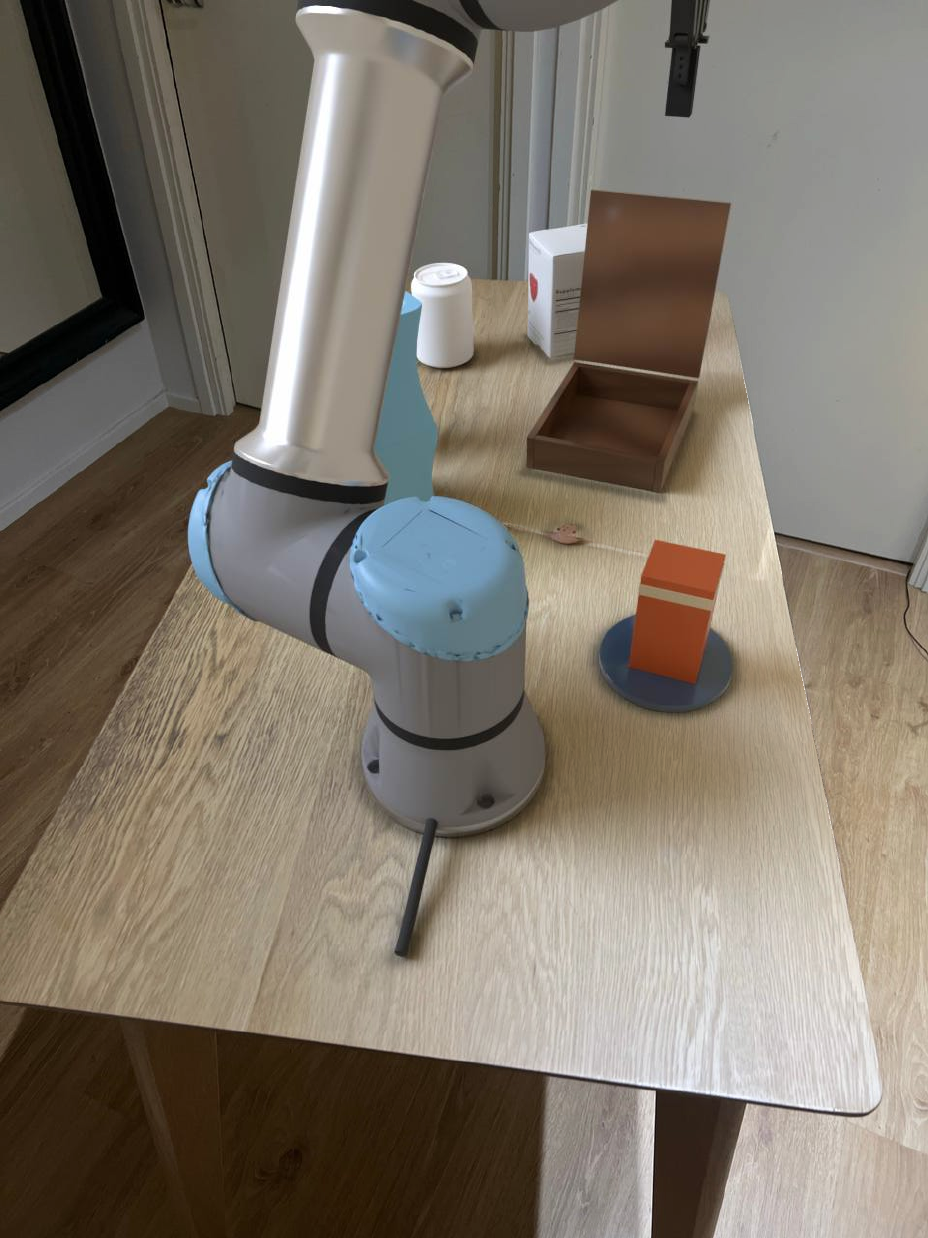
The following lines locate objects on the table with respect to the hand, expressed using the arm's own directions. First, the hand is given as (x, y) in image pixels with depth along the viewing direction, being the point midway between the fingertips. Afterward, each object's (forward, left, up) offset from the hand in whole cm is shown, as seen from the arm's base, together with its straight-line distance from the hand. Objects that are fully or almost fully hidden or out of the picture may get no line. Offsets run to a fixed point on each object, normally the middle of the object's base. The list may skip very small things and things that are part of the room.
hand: (678, 114), depth 98 cm
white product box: (+5, +13, -32) cm, 35 cm away
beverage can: (-4, +28, -32) cm, 43 cm away
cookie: (-37, 0, -32) cm, 49 cm away
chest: (-18, 0, -32) cm, 36 cm away
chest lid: (-7, 0, -16) cm, 18 cm away
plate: (-52, -14, -32) cm, 63 cm away
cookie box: (-52, -14, -31) cm, 62 cm away
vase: (-41, +20, -32) cm, 56 cm away
